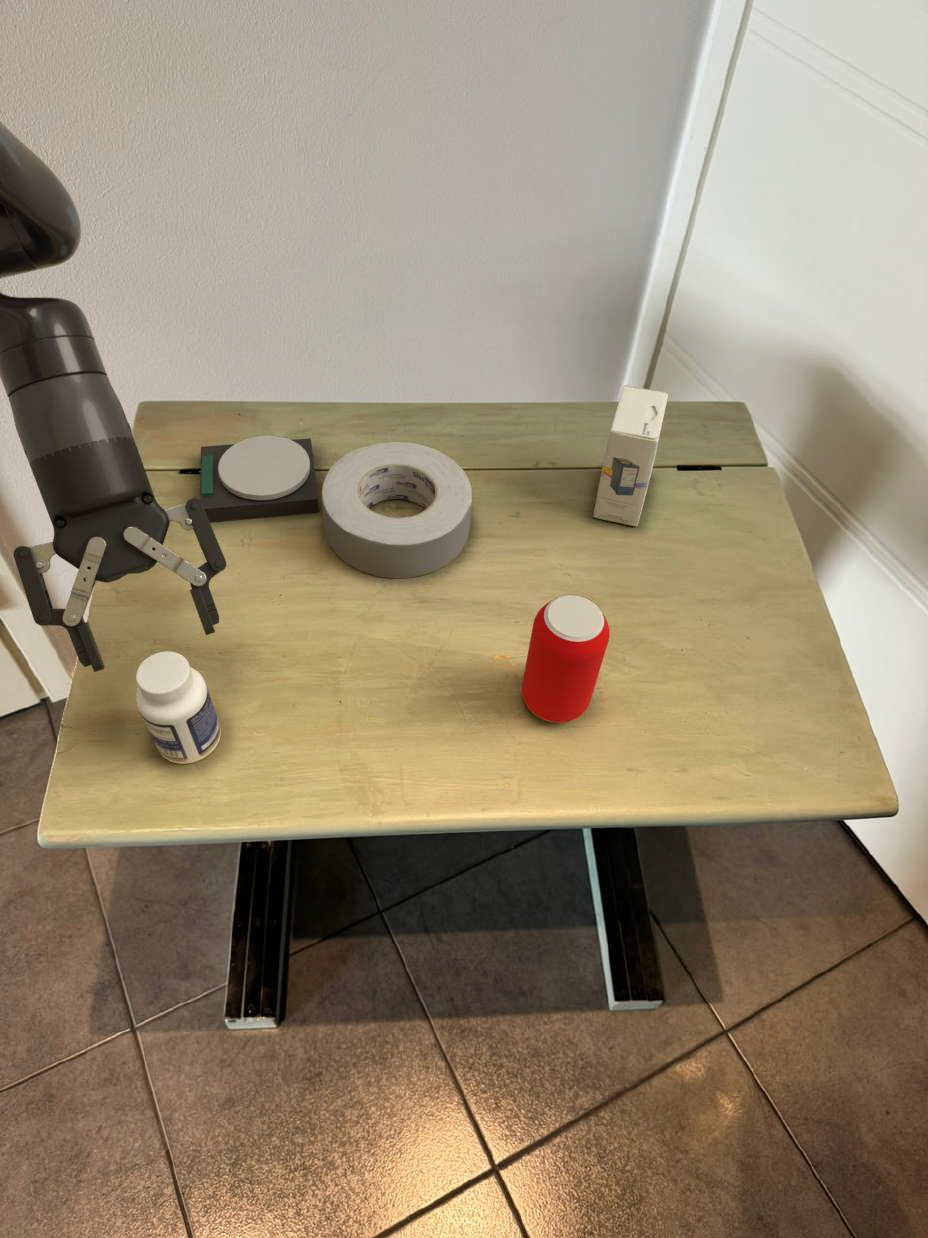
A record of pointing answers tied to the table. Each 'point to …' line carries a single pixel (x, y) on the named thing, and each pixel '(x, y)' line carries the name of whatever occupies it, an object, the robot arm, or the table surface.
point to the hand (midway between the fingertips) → (156, 651)
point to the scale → (258, 479)
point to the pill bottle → (176, 708)
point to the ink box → (630, 455)
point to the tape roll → (389, 539)
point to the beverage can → (564, 658)
